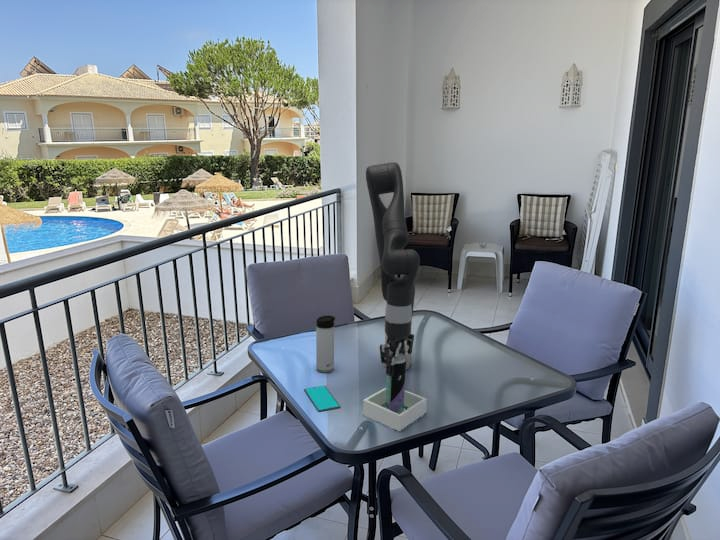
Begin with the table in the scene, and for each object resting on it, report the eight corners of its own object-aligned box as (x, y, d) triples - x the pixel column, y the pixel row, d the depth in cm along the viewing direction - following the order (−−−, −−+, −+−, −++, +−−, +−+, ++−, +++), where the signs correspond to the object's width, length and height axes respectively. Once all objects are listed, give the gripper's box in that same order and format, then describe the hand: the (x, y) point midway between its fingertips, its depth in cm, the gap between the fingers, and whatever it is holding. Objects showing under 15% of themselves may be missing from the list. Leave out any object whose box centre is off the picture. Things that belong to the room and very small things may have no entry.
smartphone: (318, 411, 152) (303, 389, 166) (318, 413, 153) (303, 391, 166) (341, 406, 155) (325, 385, 169) (341, 409, 156) (325, 387, 169)
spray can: (398, 416, 148) (401, 353, 143) (382, 411, 151) (384, 349, 146) (406, 408, 153) (409, 347, 148) (390, 403, 156) (393, 343, 151)
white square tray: (390, 398, 161) (390, 384, 160) (426, 413, 153) (426, 398, 152) (362, 415, 151) (363, 400, 150) (399, 432, 143) (399, 416, 142)
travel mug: (332, 374, 178) (332, 320, 173) (314, 372, 179) (314, 318, 174) (336, 366, 184) (337, 314, 179) (319, 364, 185) (319, 313, 180)
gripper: (402, 309, 152) (400, 361, 157) (372, 321, 142) (370, 376, 146) (423, 314, 148) (420, 368, 152) (393, 327, 137) (391, 384, 141)
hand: (396, 371), depth 149 cm, fingers closed on spray can, 5 cm apart
